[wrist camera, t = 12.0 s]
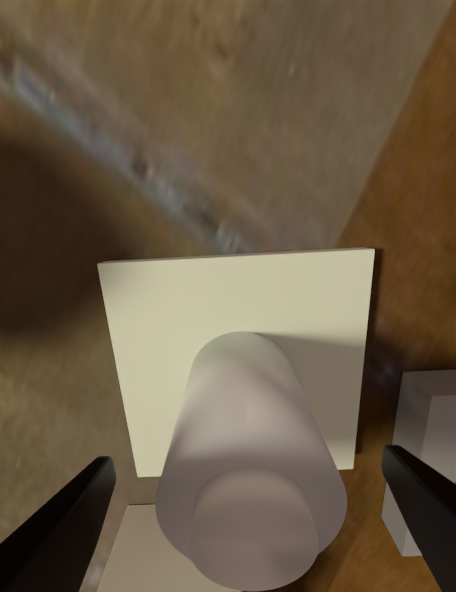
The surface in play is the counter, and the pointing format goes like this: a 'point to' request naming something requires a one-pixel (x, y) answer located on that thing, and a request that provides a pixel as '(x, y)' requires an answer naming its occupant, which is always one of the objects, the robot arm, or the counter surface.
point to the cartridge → (248, 469)
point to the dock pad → (232, 318)
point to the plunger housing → (150, 560)
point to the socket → (423, 438)
